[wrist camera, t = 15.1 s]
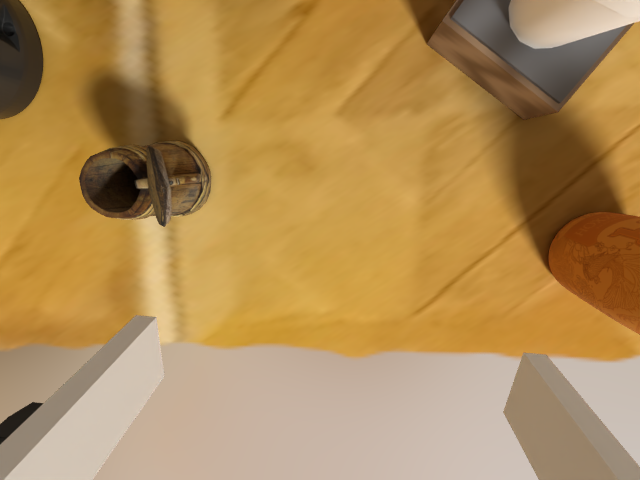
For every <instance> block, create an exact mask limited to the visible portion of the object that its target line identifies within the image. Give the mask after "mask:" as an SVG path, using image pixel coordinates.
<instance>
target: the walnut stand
mask: <svg viewBox="0 0 640 480" xmlns="http://www.w3.org/2000/svg"><path fill="white" fill-rule="evenodd" d="M510 2H511V0H456V2H455V3H454V5H453V6H452V7H451V9H450V10H449V12H448V13H447V15H446V16H445V17H444V19H443V20H442V22H441V23H440V25H439V26H438V28H437V29H436V31H435V32H434V34H433V35H432V37H431V38H430V40H429V41H428V43H427V45H429V46H430V47H431V48H432V49H434V50H435V51H436V52H438V53H439V54H440V55H441V56H443V57H444V58H445V59H447V60H448V61H449V62H450V63H452V64H453V65H454V66H456V67H457V68H458V69H459V70H461V71H462V72H463V73H465V74H466V75H467V76H468V77H470V78H471V79H472V80H474V81H475V82H476V83H477V84H479V85H480V86H481V87H483V88H484V89H485V90H486V91H488V92H489V93H490V94H492V95H493V96H494V97H495V98H497V99H498V100H499V101H501V102H502V103H503V104H504V105H506V106H507V107H508V108H510V109H511V110H512V111H513V112H515V113H516V114H517V115H519V116H520V117H521V118H522V119H524V120H525V119H530V118H534V117H538V116H543V115H547V114H552V113H556V112H559V110H560V109H561V108H562V107H563V106H564V105H565V103H566V102H567V101H568V100H569V99H570V98H571V96H572V95H573V94H574V93H575V92H576V91H577V89H578V88H579V87H580V86H581V85H582V84H583V82H584V81H585V80H586V79H587V78H588V77H589V75H590V74H591V73H592V72H593V71H594V70H595V68H596V67H597V66H598V65H599V64H600V63H601V61H602V60H603V59H604V58H605V57H606V56H607V54H608V53H609V52H610V51H611V50H612V49H613V47H614V46H615V45H616V44H617V43H618V42H619V40H620V39H621V38H622V37H623V36H624V35H625V33H626V32H627V31H628V30H629V29H630V28H631V26H632V25H633V24H634V23H632V24H628V25H625V26H622V27H619V28H616V29H612V30H609V31H606V32H603V33H599V34H596V35H593V36H590V37H587V38H583V39H580V40H577V41H574V42H570V43H567V44H564V45H561V46H558V47H553V48H539V49H534V48H532V47H530V46H528V45H526V44H524V43H522V42H520V41H519V40H518V38H517V37H516V35H515V34H514V32H513V31H512V29H511V27H510V21H509V10H508V8H509V5H510Z"/></svg>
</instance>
